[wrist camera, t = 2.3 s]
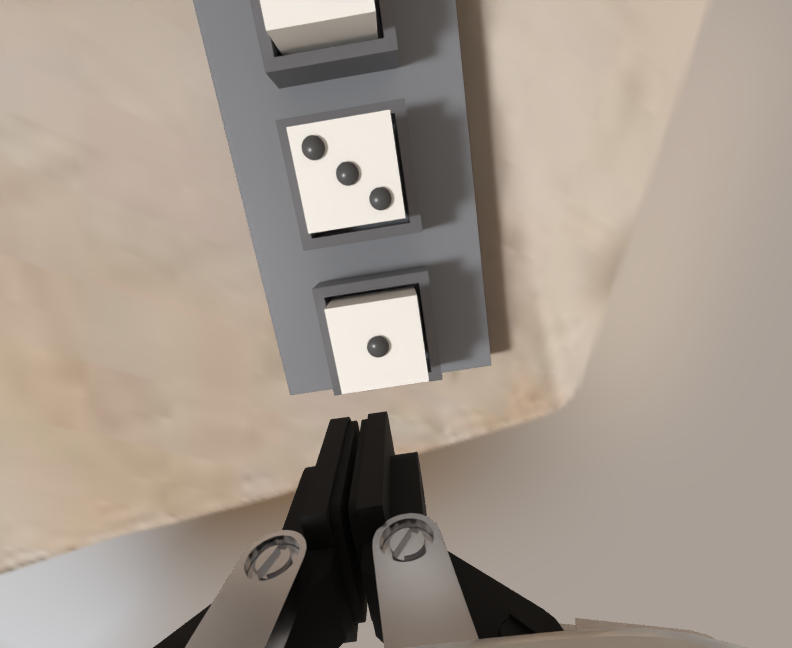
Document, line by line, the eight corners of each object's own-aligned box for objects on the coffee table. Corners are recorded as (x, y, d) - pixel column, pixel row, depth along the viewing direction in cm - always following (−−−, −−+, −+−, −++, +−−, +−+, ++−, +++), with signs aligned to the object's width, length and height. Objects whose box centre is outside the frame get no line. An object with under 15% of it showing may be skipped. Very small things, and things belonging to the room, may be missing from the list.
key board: (197, -33, 22) (150, -94, 18) (440, -78, 22) (452, -152, 18) (297, 383, 29) (280, 412, 25) (484, 355, 29) (501, 379, 24)
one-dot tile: (332, 298, 24) (323, 310, 21) (413, 285, 24) (416, 295, 21) (347, 373, 25) (341, 395, 22) (424, 362, 25) (429, 382, 22)
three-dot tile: (300, 139, 22) (285, 126, 18) (390, 124, 21) (390, 108, 18) (319, 231, 23) (307, 233, 20) (403, 218, 23) (405, 218, 20)
